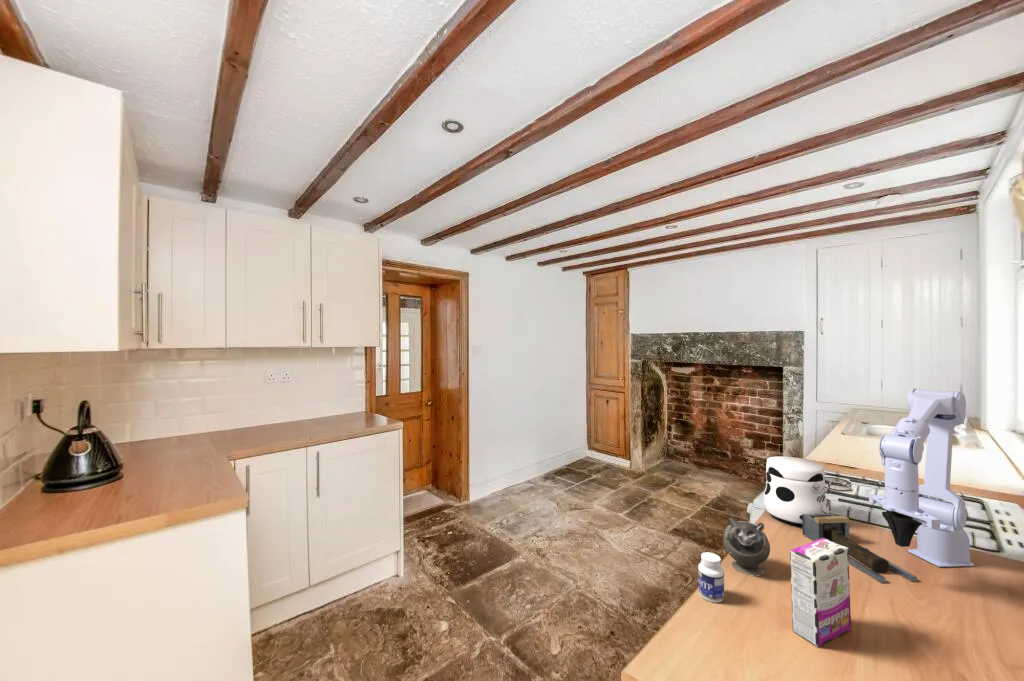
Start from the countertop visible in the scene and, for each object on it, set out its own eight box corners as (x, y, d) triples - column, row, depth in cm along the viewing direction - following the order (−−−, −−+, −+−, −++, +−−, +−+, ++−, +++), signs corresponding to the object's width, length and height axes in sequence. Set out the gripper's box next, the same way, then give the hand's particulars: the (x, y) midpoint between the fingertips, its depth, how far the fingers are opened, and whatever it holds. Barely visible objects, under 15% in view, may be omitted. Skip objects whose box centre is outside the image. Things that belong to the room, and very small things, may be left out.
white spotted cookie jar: (844, 531, 120) (843, 471, 121) (786, 531, 121) (785, 471, 121) (803, 507, 138) (802, 455, 138) (752, 507, 138) (751, 455, 138)
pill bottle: (693, 592, 92) (692, 553, 92) (709, 586, 94) (709, 548, 94) (713, 606, 87) (712, 565, 87) (729, 599, 89) (729, 559, 89)
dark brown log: (890, 575, 98) (890, 556, 98) (873, 574, 98) (873, 555, 98) (834, 538, 117) (833, 522, 117) (819, 537, 117) (819, 521, 117)
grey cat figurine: (731, 578, 97) (778, 582, 95) (729, 529, 98) (776, 531, 95) (719, 556, 107) (761, 559, 105) (717, 512, 107) (759, 513, 105)
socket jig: (831, 533, 119) (831, 509, 119) (916, 581, 95) (916, 551, 95) (802, 534, 118) (802, 510, 118) (880, 583, 94) (880, 552, 95)
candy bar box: (823, 615, 84) (822, 536, 84) (852, 630, 79) (850, 547, 79) (789, 631, 79) (788, 548, 79) (817, 648, 75) (816, 560, 75)
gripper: (856, 477, 101) (858, 531, 101) (917, 500, 86) (919, 563, 86) (883, 476, 101) (884, 530, 101) (948, 498, 87) (950, 561, 87)
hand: (902, 545), depth 94 cm, fingers closed
